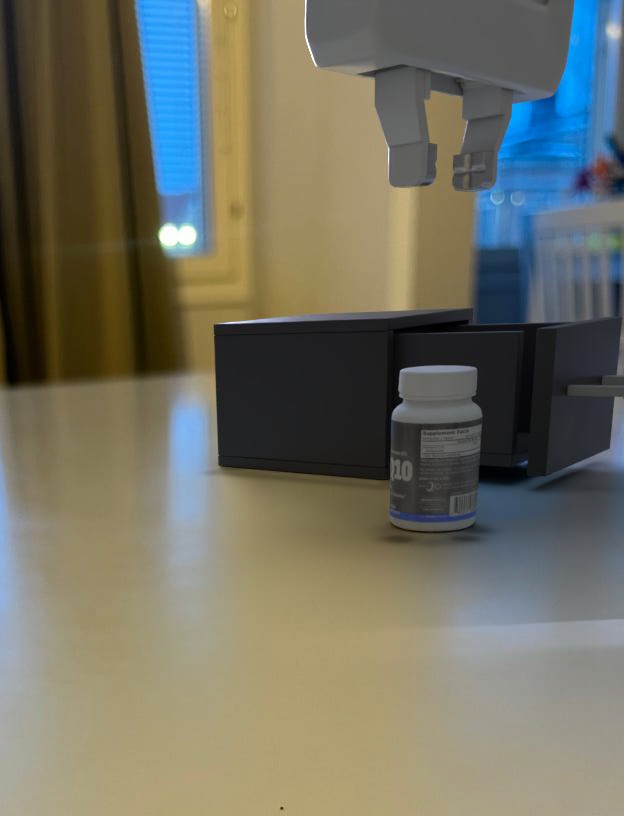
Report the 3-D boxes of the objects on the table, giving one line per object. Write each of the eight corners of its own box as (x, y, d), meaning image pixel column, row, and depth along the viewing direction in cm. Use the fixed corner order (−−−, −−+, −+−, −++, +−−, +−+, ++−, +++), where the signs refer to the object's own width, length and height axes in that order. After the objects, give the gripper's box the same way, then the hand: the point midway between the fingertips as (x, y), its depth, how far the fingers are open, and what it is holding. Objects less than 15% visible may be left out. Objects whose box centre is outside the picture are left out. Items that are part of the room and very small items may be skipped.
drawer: (683, 452, 66) (700, 314, 63) (625, 482, 58) (641, 325, 55) (430, 439, 78) (434, 322, 75) (354, 462, 70) (355, 332, 67)
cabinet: (467, 451, 77) (474, 307, 73) (384, 479, 68) (388, 318, 64) (307, 442, 86) (307, 314, 83) (217, 465, 77) (212, 324, 74)
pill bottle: (381, 516, 58) (384, 367, 55) (463, 512, 57) (470, 362, 55) (398, 535, 53) (402, 374, 50) (487, 530, 53) (496, 368, 50)
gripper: (408, -246, 36) (398, 172, 40) (606, -112, 50) (582, 187, 54) (266, -183, 40) (271, 190, 45) (486, -76, 54) (473, 200, 59)
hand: (444, 189), depth 50 cm, fingers open, 5 cm apart
